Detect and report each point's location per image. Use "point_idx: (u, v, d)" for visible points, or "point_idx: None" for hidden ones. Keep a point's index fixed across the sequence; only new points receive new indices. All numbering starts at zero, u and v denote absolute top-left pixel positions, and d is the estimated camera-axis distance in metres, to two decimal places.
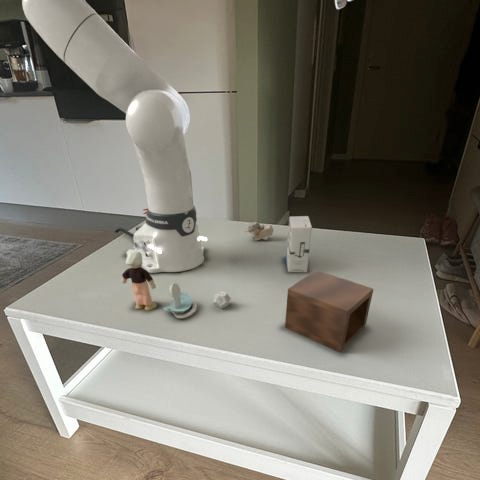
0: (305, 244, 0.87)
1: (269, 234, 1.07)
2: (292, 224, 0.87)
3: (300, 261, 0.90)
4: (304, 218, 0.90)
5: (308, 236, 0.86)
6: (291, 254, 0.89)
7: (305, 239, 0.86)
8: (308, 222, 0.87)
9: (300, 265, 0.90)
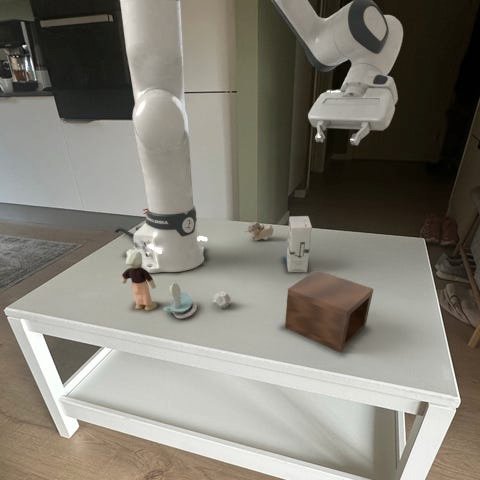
0: (305, 244, 0.87)
1: (269, 234, 1.07)
2: (292, 224, 0.87)
3: (300, 261, 0.90)
4: (304, 218, 0.90)
5: (308, 236, 0.86)
6: (291, 254, 0.89)
7: (305, 239, 0.86)
8: (308, 222, 0.87)
9: (300, 265, 0.90)
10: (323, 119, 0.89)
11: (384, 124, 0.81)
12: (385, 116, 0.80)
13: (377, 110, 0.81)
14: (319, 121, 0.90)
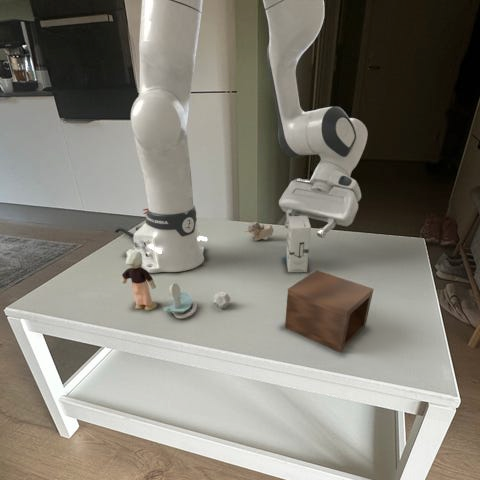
0: (304, 245, 0.87)
1: (269, 234, 1.07)
2: (291, 224, 0.87)
3: (300, 261, 0.90)
4: (303, 218, 0.90)
5: (307, 236, 0.86)
6: (291, 254, 0.89)
7: (304, 239, 0.86)
8: (307, 222, 0.87)
9: (300, 265, 0.90)
10: (292, 208, 0.93)
11: (348, 222, 0.86)
12: (348, 216, 0.85)
13: (342, 209, 0.86)
14: (288, 209, 0.94)
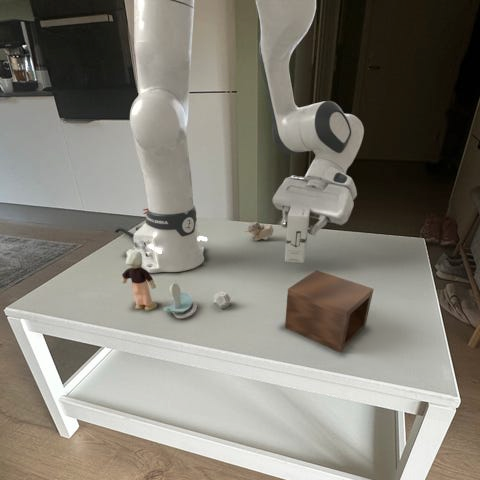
0: (301, 234, 0.85)
1: (269, 234, 1.07)
2: (290, 212, 0.85)
3: (297, 251, 0.87)
4: (305, 207, 0.87)
5: (304, 225, 0.83)
6: (287, 243, 0.87)
7: (301, 228, 0.84)
8: (307, 211, 0.85)
9: (296, 255, 0.88)
10: (286, 206, 0.91)
11: (342, 220, 0.84)
12: (343, 214, 0.83)
13: (336, 207, 0.84)
14: (285, 207, 0.91)
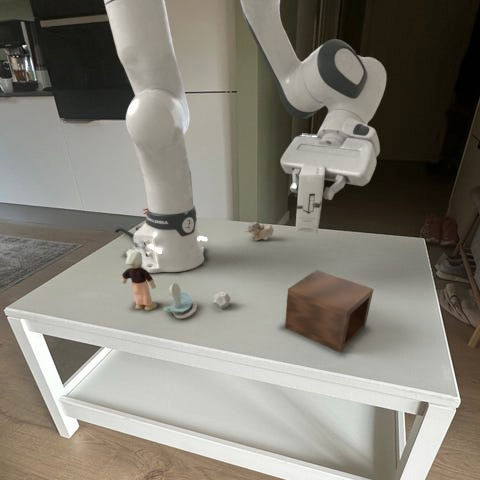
0: (315, 197, 0.72)
1: (269, 234, 1.07)
2: (301, 171, 0.72)
3: (309, 218, 0.75)
4: (319, 166, 0.75)
5: (319, 186, 0.71)
6: (298, 208, 0.74)
7: (315, 190, 0.71)
8: (322, 170, 0.72)
9: (309, 223, 0.75)
10: (297, 167, 0.78)
11: (364, 180, 0.71)
12: (366, 172, 0.70)
13: (357, 164, 0.71)
14: (295, 169, 0.79)
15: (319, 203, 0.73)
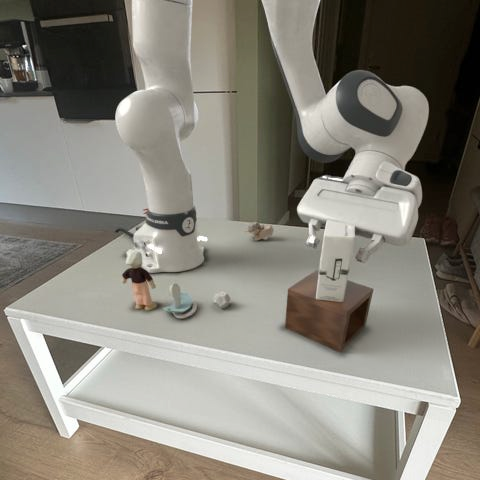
0: (342, 262, 0.58)
1: (269, 234, 1.07)
2: (326, 231, 0.58)
3: (334, 286, 0.61)
4: None
5: (348, 251, 0.57)
6: (321, 274, 0.60)
7: (342, 255, 0.58)
8: (352, 229, 0.58)
9: (333, 292, 0.62)
10: (318, 218, 0.64)
11: (404, 241, 0.57)
12: (407, 232, 0.56)
13: (396, 221, 0.57)
14: (312, 219, 0.65)
15: (347, 270, 0.59)
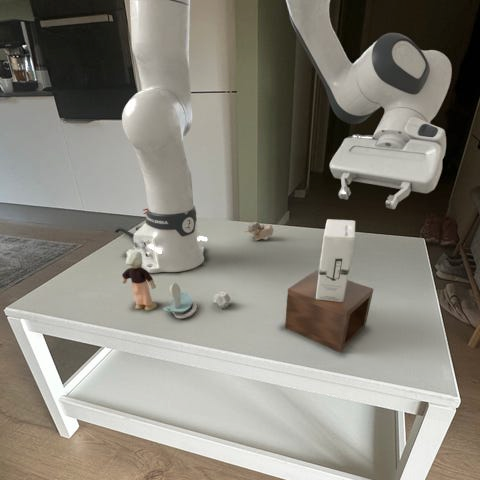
0: (342, 263, 0.58)
1: (269, 234, 1.07)
2: (326, 231, 0.58)
3: (334, 286, 0.61)
4: (347, 223, 0.61)
5: (348, 251, 0.57)
6: (321, 274, 0.60)
7: (342, 255, 0.58)
8: (352, 229, 0.58)
9: (333, 292, 0.62)
10: (349, 171, 0.71)
11: (431, 187, 0.64)
12: (434, 178, 0.62)
13: (423, 168, 0.63)
14: (344, 173, 0.71)
15: (347, 270, 0.59)
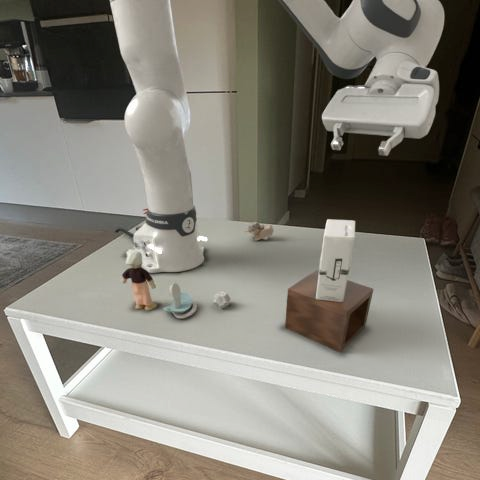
0: (342, 263, 0.58)
1: (269, 234, 1.07)
2: (326, 231, 0.58)
3: (334, 286, 0.61)
4: (347, 223, 0.61)
5: (348, 251, 0.57)
6: (321, 274, 0.60)
7: (342, 255, 0.58)
8: (352, 229, 0.58)
9: (333, 292, 0.62)
10: (342, 121, 0.70)
11: (423, 130, 0.63)
12: (426, 120, 0.61)
13: (416, 112, 0.62)
14: (336, 123, 0.71)
15: (347, 270, 0.59)
